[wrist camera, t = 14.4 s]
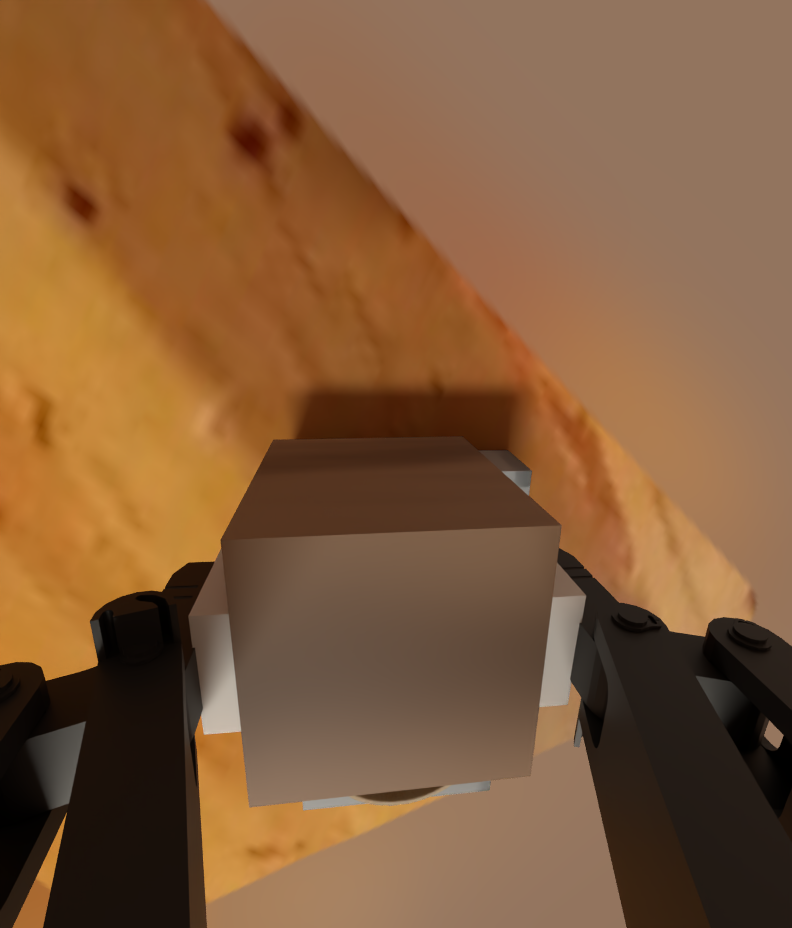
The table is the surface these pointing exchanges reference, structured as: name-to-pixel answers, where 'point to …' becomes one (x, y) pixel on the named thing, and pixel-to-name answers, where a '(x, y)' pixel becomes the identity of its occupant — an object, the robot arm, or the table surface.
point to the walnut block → (386, 618)
